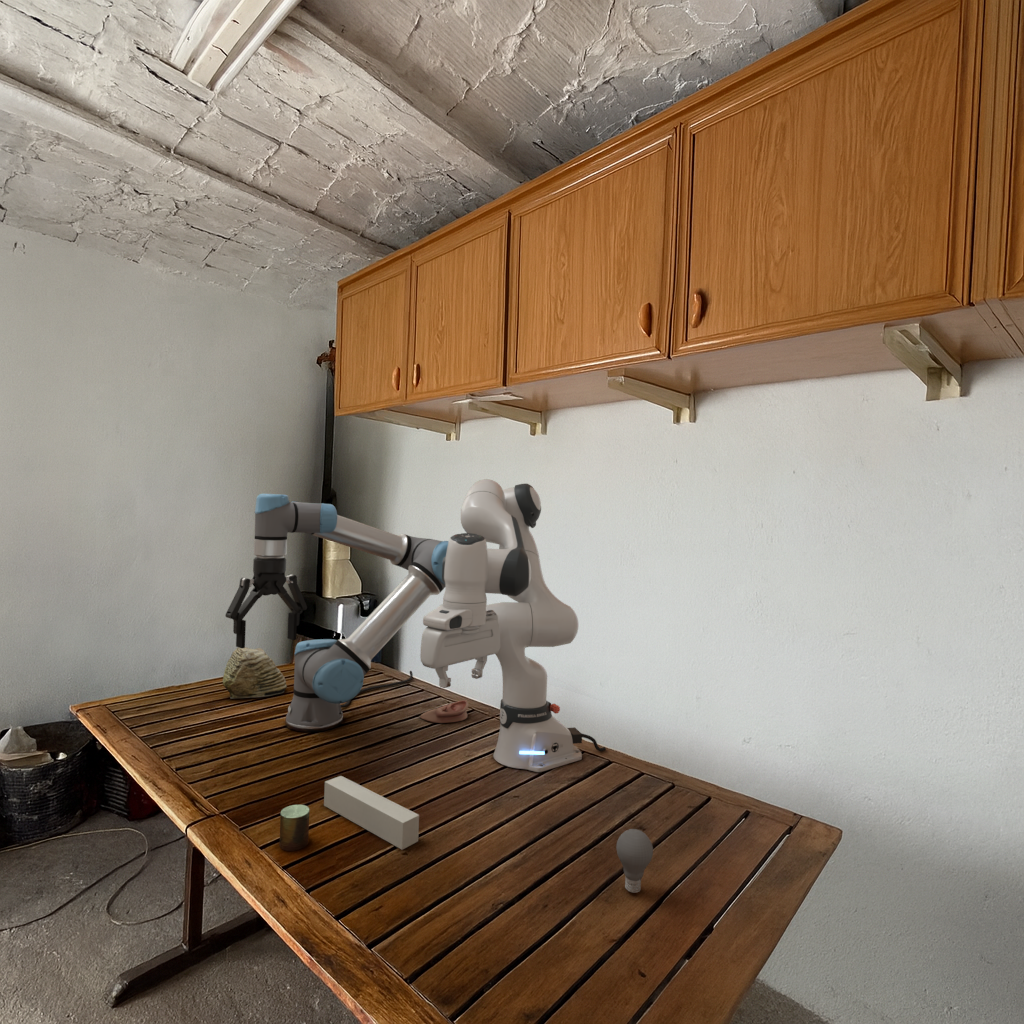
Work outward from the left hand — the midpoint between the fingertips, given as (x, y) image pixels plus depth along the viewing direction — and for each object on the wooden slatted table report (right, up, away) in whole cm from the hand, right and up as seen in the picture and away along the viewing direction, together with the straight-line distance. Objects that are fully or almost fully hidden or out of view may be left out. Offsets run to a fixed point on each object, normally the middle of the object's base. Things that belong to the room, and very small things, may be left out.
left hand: (266, 643), depth 155 cm
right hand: (+50, -2, -27) cm, 57 cm away
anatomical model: (+40, -28, +30) cm, 58 cm away
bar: (+32, -29, -31) cm, 53 cm away
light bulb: (+80, -31, -50) cm, 99 cm away
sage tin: (+20, -28, -40) cm, 53 cm away
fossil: (-20, -25, +43) cm, 54 cm away
